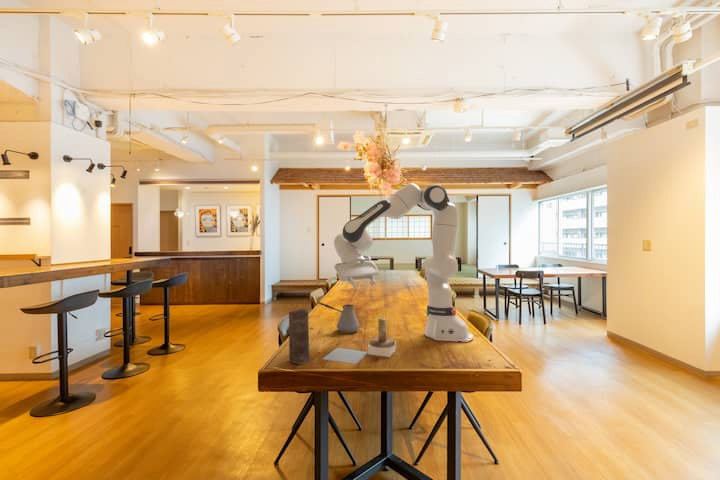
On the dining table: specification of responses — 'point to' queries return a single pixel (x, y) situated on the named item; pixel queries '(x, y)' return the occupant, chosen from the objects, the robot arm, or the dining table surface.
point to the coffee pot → (346, 319)
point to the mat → (345, 355)
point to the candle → (298, 336)
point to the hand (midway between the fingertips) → (365, 285)
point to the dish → (381, 350)
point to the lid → (382, 336)
